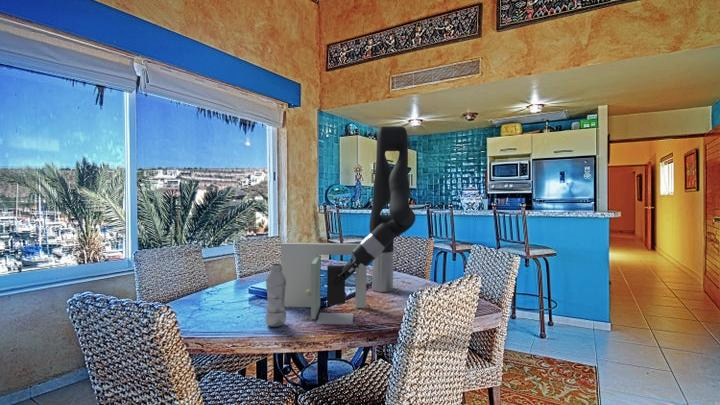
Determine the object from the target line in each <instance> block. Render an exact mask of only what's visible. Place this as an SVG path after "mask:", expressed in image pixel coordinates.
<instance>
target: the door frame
mask: <svg viewBox="0 0 720 405" xmlns="http://www.w3.org/2000/svg"><path fill="white" fill-rule="evenodd" d="M358 244H359V243H333V242H331V243H327V242H326V243H323V242H322V243H320V242H319V243H317V242H316V243H315V242H308V243H307V242H281V244H280V264H282V271H281V272H282V273H283V274H284V276H285V277H286V280H287V282H286V289H285V297H284V298H285V300H284V301H285V308H310V320H316V319H317V320H316V325H354V312H353V313H351V312H344V313H343V312H320V313H319V310H320V308H321V290H322V288H321V287H322V286H321V282H322V280H321V279H322V278H321V274H322V272H321V270H322V269H321V268H322V266H321V265H322V263H321V262H322V260H321V258H322V256H323V255H324V256H325V255H326V256H330V255H331V256H354V255H353V253H352V250H353V249H354V248H355V247H356V246H357V245H358ZM354 290H355V291H354V292H355V295H354V296H355V299H354V300H355V302H354V304H355V305H354V306H355V309H366V308H367V266H364V265H363V264H362V263H361V264H360V265H359V268H358V269H357V271H355V288H354ZM317 315H318V317H317Z"/></svg>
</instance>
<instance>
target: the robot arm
mask: <svg viewBox="0 0 720 405" xmlns="http://www.w3.org/2000/svg"><path fill="white" fill-rule="evenodd" d="M407 132H408V131H407V129H406V128H405V127H404V126H398V125H396V126H389V125H388V126H387V125H385V126H384V125H383V126H380V127H379V128H378V129H377V135H376V154H375V157H376V158H375V159H376V160H375V161H376V162H375V170H374V179H373V180H374V181H373V190H372V192H373V193H372V204H371V211H370V217H369V218H370V219H369V228H368V229H369V232H370V233H369V234H368V235H366V236H365V237H364V238H363V239H362V240H361V241H360V242H359V243H357V244H358V245H357V246H356V247H355V248H354V249H353V250H352V253H353V255H352V256H354V257H353V258H349V259H348V261H347V262H346V263H345V264H344V265H345V267H344V268H343V269H342V272H341V273H340V274H339V275H338V276H337V277H336V278H335V279H334V281H333V283H332V284H333V285H334V286H336V285H338V284H339V283H341V282H342V281H345V282H346V281H347V279H349V278H350V277H351V276H352V275H354V273H356V271H357V269H358V268H359V265H360V264H361V263H362V264H363V265H364V266H366V267H368V266H370V265H371V263H372V267H371V268H372V271H371V273H372V274H371V275H372V276H371V279H372V280H371V284H372V285H371V289H372V291H375V292H380V293H388V292H389V293H390V292H392V291H393V289H394V244H395V243H394V240H395V239H396V238H398V237H399V236H401V235H402V234H404V233H405V232H407V231H408V230H410V228H411V227H412V226H413V225H414V224H415V222H416V214H415V212H414V211H413V209H412V208H411V207H410V201H409V200H410V198H411V187H410V181H409V168H408V167H409V142H408V133H407ZM386 152H398V153H399V154H398V158H397V161H396V163H395V165H394V166H393V168H392V167H391V165H390V163H389V162H388V160H387V157H386ZM388 204H389V214H381V213H382V211H383V209H384V208H385V207H386V206H387V205H388ZM343 274H345V276H344V275H343ZM335 283H336V284H335Z"/></svg>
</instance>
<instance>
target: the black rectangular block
mask: <svg viewBox="0 0 720 405" xmlns="http://www.w3.org/2000/svg"><path fill="white" fill-rule="evenodd" d="M344 267H345V264H343V265H341V264H340V265H339V264H337V265H334V264H332V265H331V264H330V265H327V269H326V270H327V271H326V273H327V274H326V283H327V284H326V304H327V305H344V304H346V287H345V286H346V280H345V281H342V282H341V283H339V284H338V285H336V286H334V285H333V284H332V283H333V281H334V279H335V278H336V277H337V276H338V275H339V274H340V273H341V272H342V269H343V268H344ZM343 275H344V276H345V274H343ZM335 284H336V283H335Z"/></svg>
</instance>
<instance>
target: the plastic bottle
mask: <svg viewBox="0 0 720 405" xmlns="http://www.w3.org/2000/svg"><path fill="white" fill-rule="evenodd" d="M269 271H270V273H269V274H268V275H267V277H266V280H265V287H266V293H267V295H266V296H267V305H266V313H265V317H264V318H265V324H266V325H267V326H269V327H272V328H273V327H276V328H277V327H282V326H284V325H285V323H286V321H287V312H286V307H285V301H284V300H285V298H284V297H285V289H286V282H287V280H286V277H285V276H284V274H283V273H282V272H281V271H282V264H281V263H271V264H270V265H269Z"/></svg>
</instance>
